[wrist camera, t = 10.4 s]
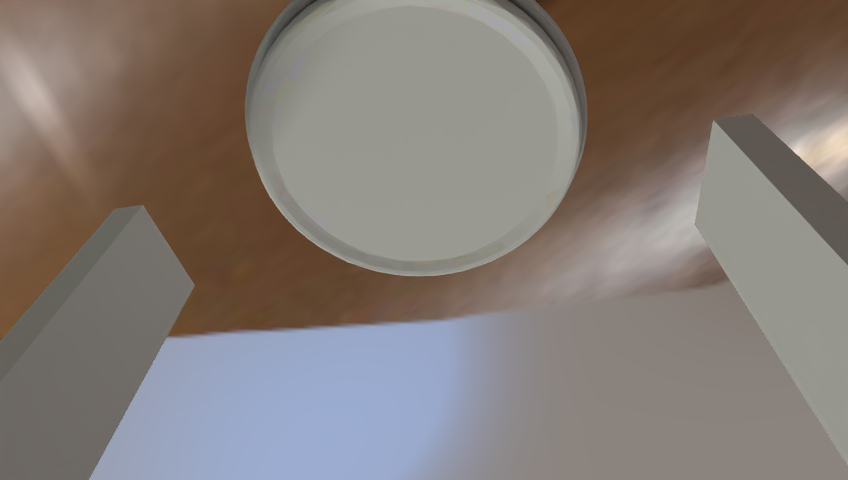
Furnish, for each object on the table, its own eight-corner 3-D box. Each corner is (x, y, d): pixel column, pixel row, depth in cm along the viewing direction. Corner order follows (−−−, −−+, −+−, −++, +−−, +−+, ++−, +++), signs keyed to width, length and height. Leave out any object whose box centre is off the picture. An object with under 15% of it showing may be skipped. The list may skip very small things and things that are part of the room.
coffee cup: (308, -109, 20) (193, -45, 11) (548, -99, 20) (642, -28, 11) (329, 114, 26) (267, 278, 17) (514, 121, 26) (555, 289, 17)
